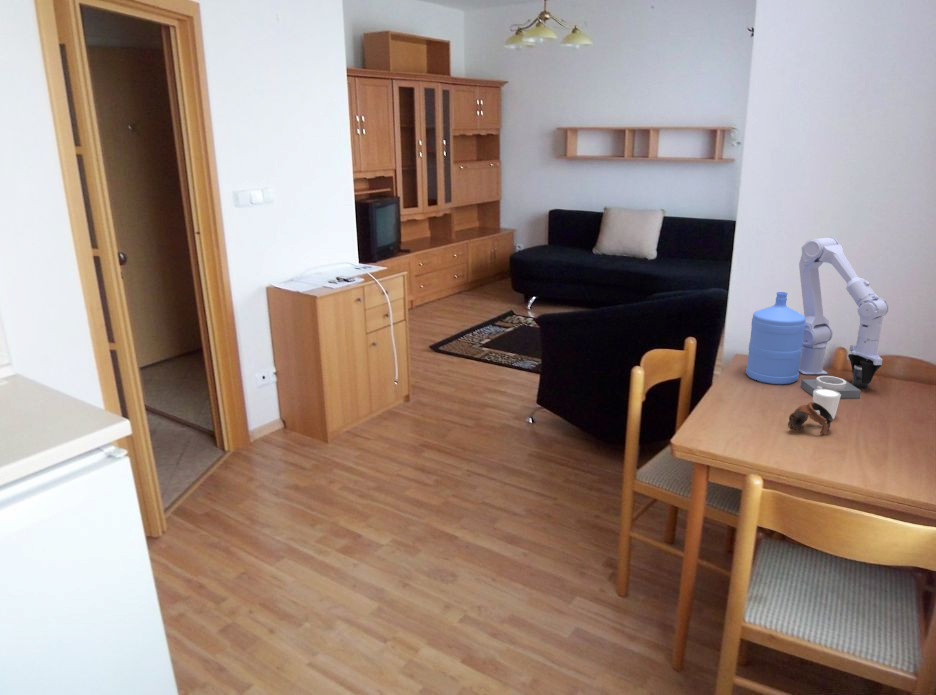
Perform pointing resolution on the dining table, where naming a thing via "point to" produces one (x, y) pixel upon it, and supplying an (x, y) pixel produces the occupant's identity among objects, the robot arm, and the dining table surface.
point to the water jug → (776, 343)
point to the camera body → (831, 386)
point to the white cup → (827, 400)
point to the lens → (858, 377)
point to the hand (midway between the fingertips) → (861, 379)
